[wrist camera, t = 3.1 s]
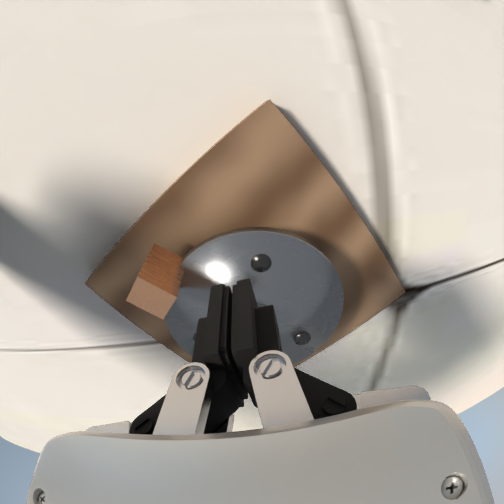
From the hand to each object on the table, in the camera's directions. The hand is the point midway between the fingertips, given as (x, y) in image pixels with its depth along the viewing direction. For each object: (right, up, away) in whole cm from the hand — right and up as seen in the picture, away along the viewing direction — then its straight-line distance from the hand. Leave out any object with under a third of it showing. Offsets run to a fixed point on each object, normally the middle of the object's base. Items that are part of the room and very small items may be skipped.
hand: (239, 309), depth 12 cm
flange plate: (0, -2, +13) cm, 13 cm away
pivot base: (+1, -1, +18) cm, 18 cm away
